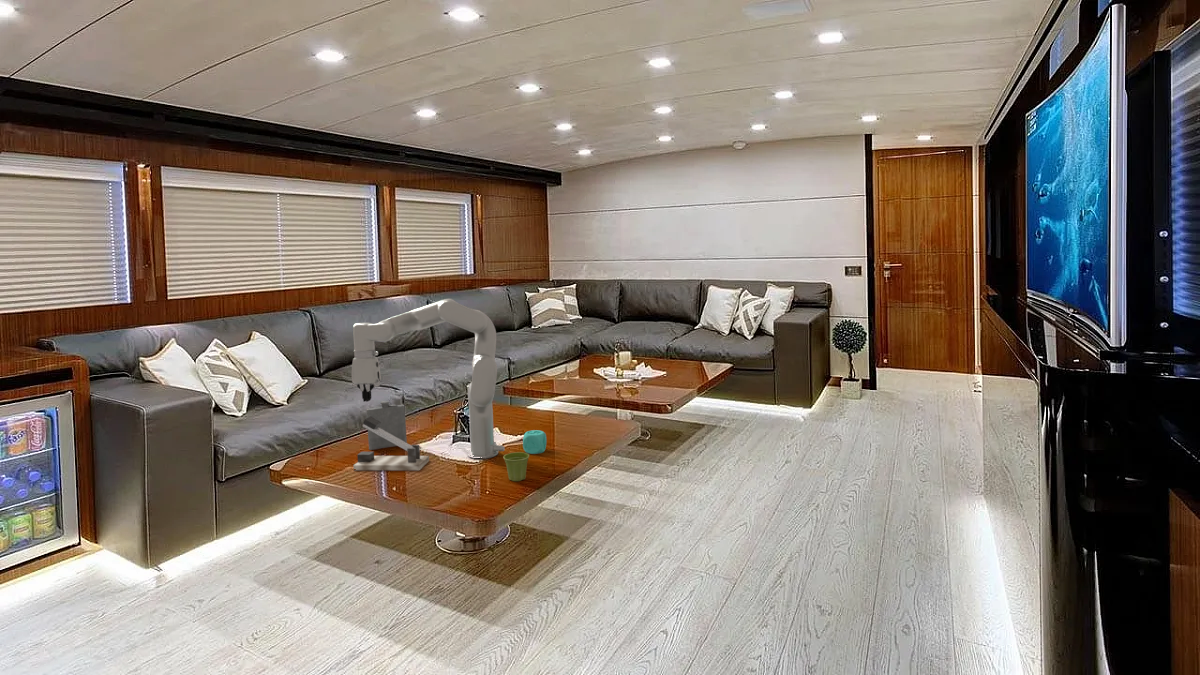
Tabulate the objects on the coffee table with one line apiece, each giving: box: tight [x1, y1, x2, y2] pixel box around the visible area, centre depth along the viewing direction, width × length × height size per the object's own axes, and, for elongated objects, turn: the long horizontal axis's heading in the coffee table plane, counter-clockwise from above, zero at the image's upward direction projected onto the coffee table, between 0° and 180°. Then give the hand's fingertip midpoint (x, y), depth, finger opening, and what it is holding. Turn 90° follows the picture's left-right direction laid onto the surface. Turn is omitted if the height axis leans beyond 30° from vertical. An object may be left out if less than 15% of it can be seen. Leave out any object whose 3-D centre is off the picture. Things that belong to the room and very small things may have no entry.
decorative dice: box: [522, 429, 548, 455], centre depth 277 cm, size 8×8×8 cm
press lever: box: [362, 416, 415, 452], centre depth 261 cm, size 22×5×4 cm
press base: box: [353, 444, 430, 471], centre depth 262 cm, size 26×12×8 cm, turn 86°
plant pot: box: [503, 451, 530, 482], centre depth 244 cm, size 9×9×9 cm
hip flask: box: [366, 400, 408, 451], centre depth 288 cm, size 16×4×20 cm, turn 117°
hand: (367, 400), depth 260 cm, fingers closed
